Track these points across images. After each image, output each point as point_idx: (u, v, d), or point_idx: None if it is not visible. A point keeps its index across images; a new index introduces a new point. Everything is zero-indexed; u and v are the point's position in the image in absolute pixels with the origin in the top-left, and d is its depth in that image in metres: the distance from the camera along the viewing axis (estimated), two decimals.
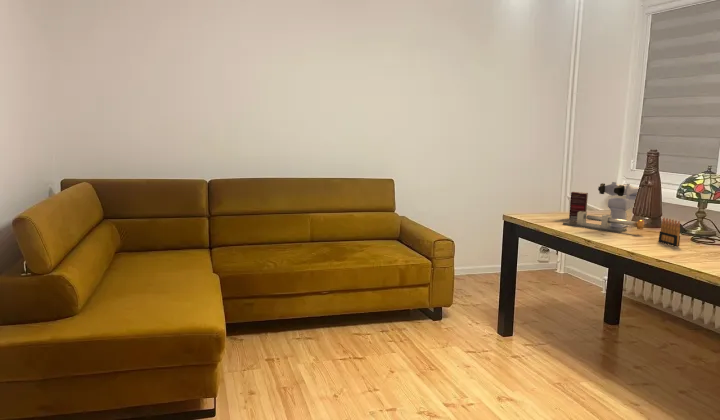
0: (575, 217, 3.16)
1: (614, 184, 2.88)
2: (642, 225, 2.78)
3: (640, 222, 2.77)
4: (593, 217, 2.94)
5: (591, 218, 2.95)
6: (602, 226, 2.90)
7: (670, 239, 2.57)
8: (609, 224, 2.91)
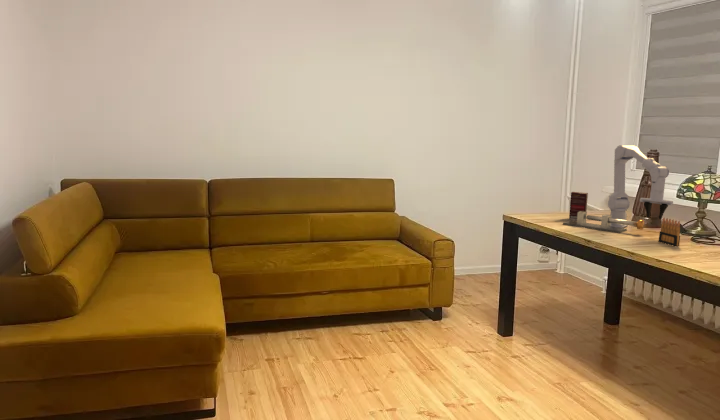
0: (575, 217, 3.16)
1: (655, 201, 2.70)
2: (642, 225, 2.78)
3: (640, 222, 2.77)
4: (593, 217, 2.94)
5: (591, 218, 2.95)
6: (602, 226, 2.90)
7: (670, 239, 2.57)
8: (609, 224, 2.91)
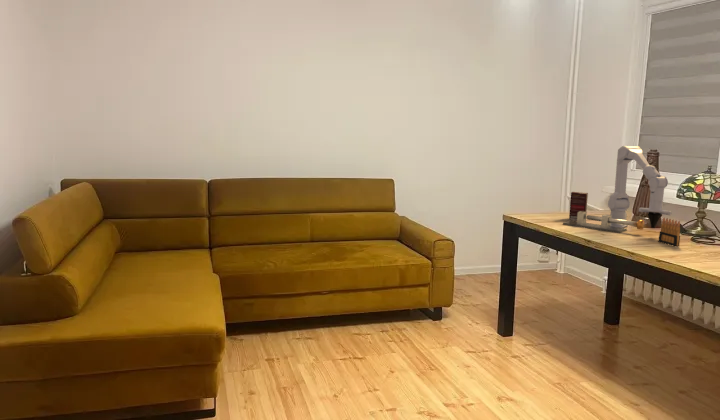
0: (575, 217, 3.16)
1: (654, 211, 2.71)
2: (642, 225, 2.78)
3: (640, 222, 2.77)
4: (593, 217, 2.94)
5: (591, 218, 2.95)
6: (602, 226, 2.90)
7: (670, 239, 2.57)
8: (609, 224, 2.91)
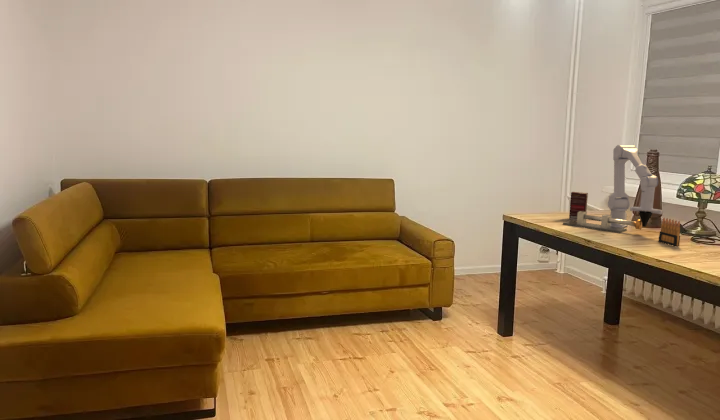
0: (575, 217, 3.16)
1: (645, 210, 2.74)
2: (640, 225, 2.78)
3: (638, 222, 2.78)
4: (592, 217, 2.95)
5: (590, 218, 2.96)
6: (602, 226, 2.90)
7: (670, 239, 2.57)
8: (609, 224, 2.91)
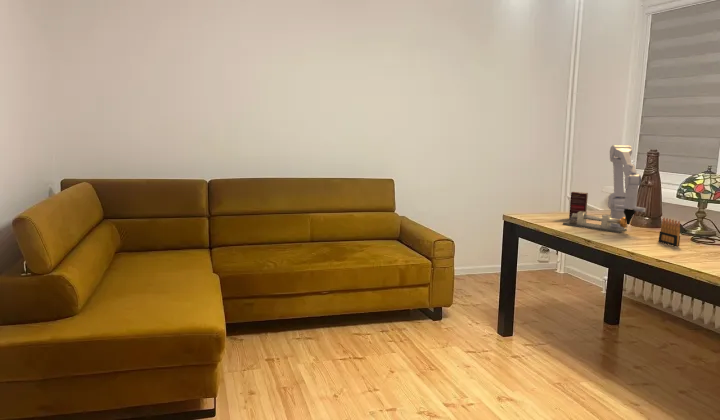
0: None
1: (628, 208, 2.79)
2: (625, 222, 2.83)
3: (623, 220, 2.83)
4: None
5: (576, 216, 3.01)
6: (602, 226, 2.90)
7: (670, 239, 2.57)
8: (609, 224, 2.91)
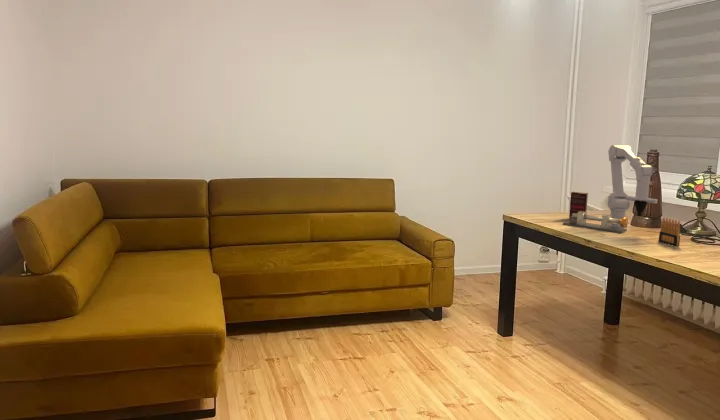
0: None
1: None
2: (625, 222, 2.83)
3: (623, 220, 2.83)
4: None
5: (576, 216, 3.00)
6: (602, 226, 2.90)
7: (670, 239, 2.57)
8: (609, 224, 2.91)
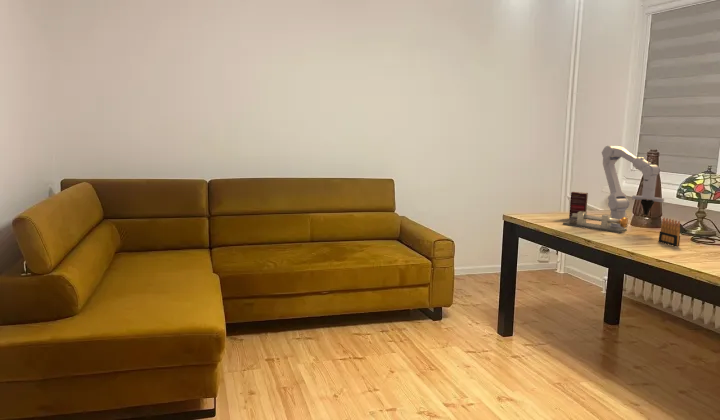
0: None
1: None
2: (625, 222, 2.83)
3: (623, 220, 2.83)
4: None
5: (576, 216, 3.00)
6: (602, 226, 2.90)
7: (670, 239, 2.57)
8: (609, 224, 2.91)
